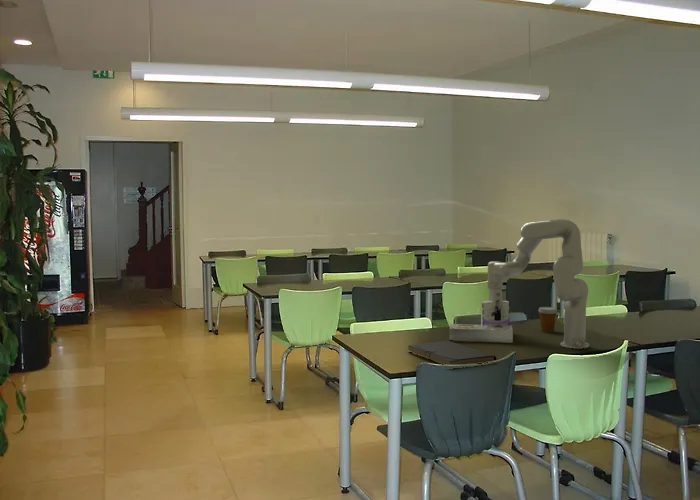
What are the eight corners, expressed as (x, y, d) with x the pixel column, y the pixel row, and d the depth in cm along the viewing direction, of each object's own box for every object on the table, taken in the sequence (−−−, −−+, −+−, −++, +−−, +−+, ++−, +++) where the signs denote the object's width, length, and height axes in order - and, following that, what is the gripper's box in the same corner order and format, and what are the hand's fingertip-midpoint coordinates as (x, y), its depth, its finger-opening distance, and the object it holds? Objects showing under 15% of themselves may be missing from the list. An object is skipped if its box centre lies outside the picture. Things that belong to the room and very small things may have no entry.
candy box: (507, 331, 346) (507, 300, 345) (509, 334, 340) (509, 302, 339) (480, 331, 347) (480, 300, 346) (482, 334, 341) (482, 302, 340)
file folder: (407, 344, 303) (451, 339, 314) (407, 353, 303) (451, 348, 314) (449, 360, 274) (496, 354, 284) (449, 369, 274) (496, 363, 285)
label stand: (511, 337, 332) (511, 324, 332) (512, 342, 321) (512, 329, 320) (450, 335, 338) (450, 323, 338) (449, 340, 326) (449, 327, 326)
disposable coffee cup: (554, 333, 340) (554, 310, 339) (535, 331, 345) (536, 308, 344) (559, 330, 348) (559, 307, 347) (540, 328, 353) (541, 306, 352)
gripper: (507, 287, 334) (507, 321, 335) (497, 283, 351) (497, 315, 352) (492, 288, 333) (492, 322, 335) (483, 283, 350) (483, 315, 352)
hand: (494, 318), depth 343 cm, fingers open, 9 cm apart
